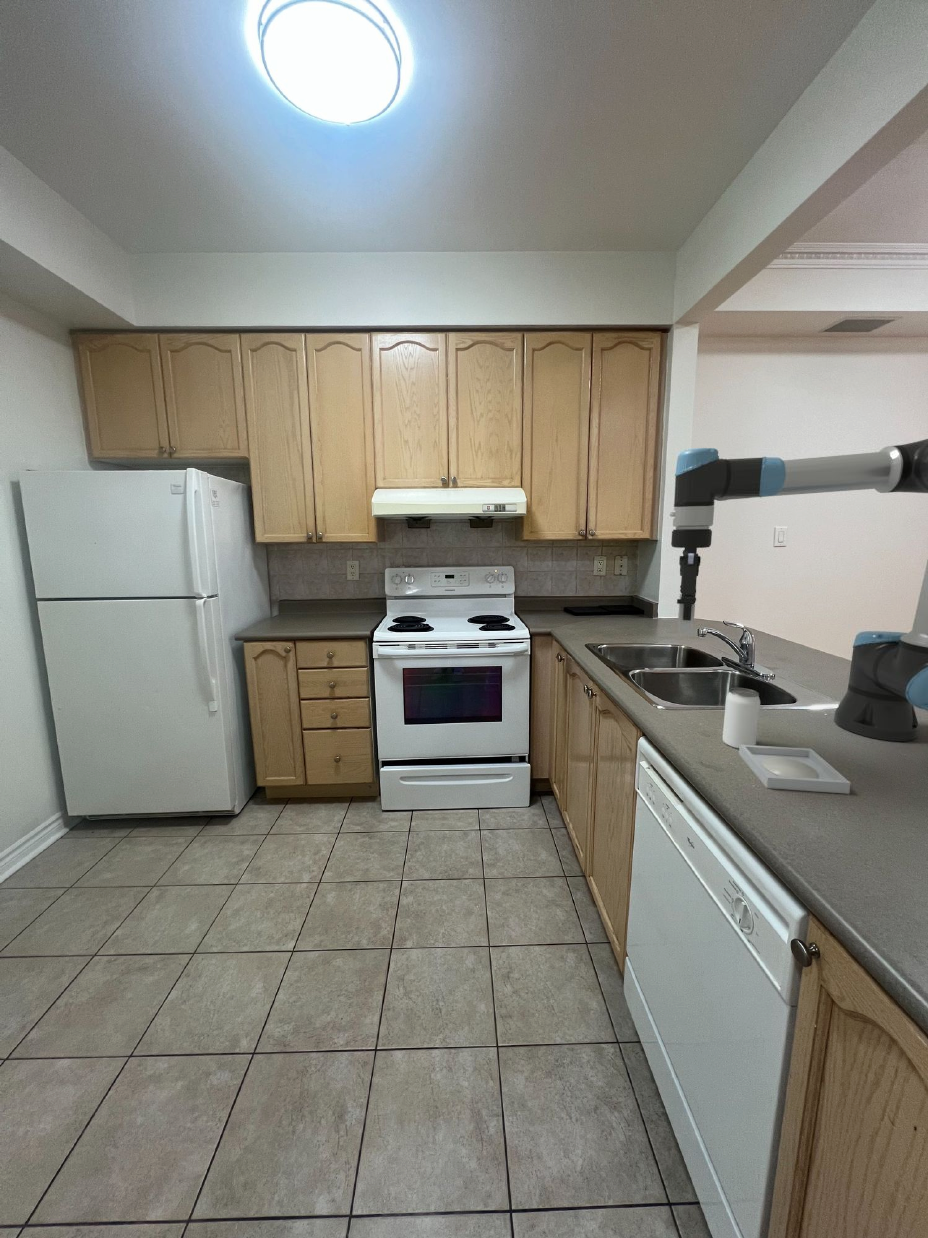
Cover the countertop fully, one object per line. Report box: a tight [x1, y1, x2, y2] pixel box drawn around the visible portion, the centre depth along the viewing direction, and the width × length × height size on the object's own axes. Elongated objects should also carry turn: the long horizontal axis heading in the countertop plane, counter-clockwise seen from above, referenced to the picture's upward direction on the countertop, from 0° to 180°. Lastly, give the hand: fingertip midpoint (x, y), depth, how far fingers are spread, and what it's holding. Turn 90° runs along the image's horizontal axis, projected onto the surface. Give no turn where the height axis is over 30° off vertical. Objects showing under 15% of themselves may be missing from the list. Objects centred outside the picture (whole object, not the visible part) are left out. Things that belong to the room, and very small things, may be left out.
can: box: [722, 687, 761, 750], centre depth 106 cm, size 6×6×12 cm
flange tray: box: [738, 745, 852, 795], centre depth 95 cm, size 14×14×2 cm
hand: (684, 628), depth 104 cm, fingers open, 13 cm apart
